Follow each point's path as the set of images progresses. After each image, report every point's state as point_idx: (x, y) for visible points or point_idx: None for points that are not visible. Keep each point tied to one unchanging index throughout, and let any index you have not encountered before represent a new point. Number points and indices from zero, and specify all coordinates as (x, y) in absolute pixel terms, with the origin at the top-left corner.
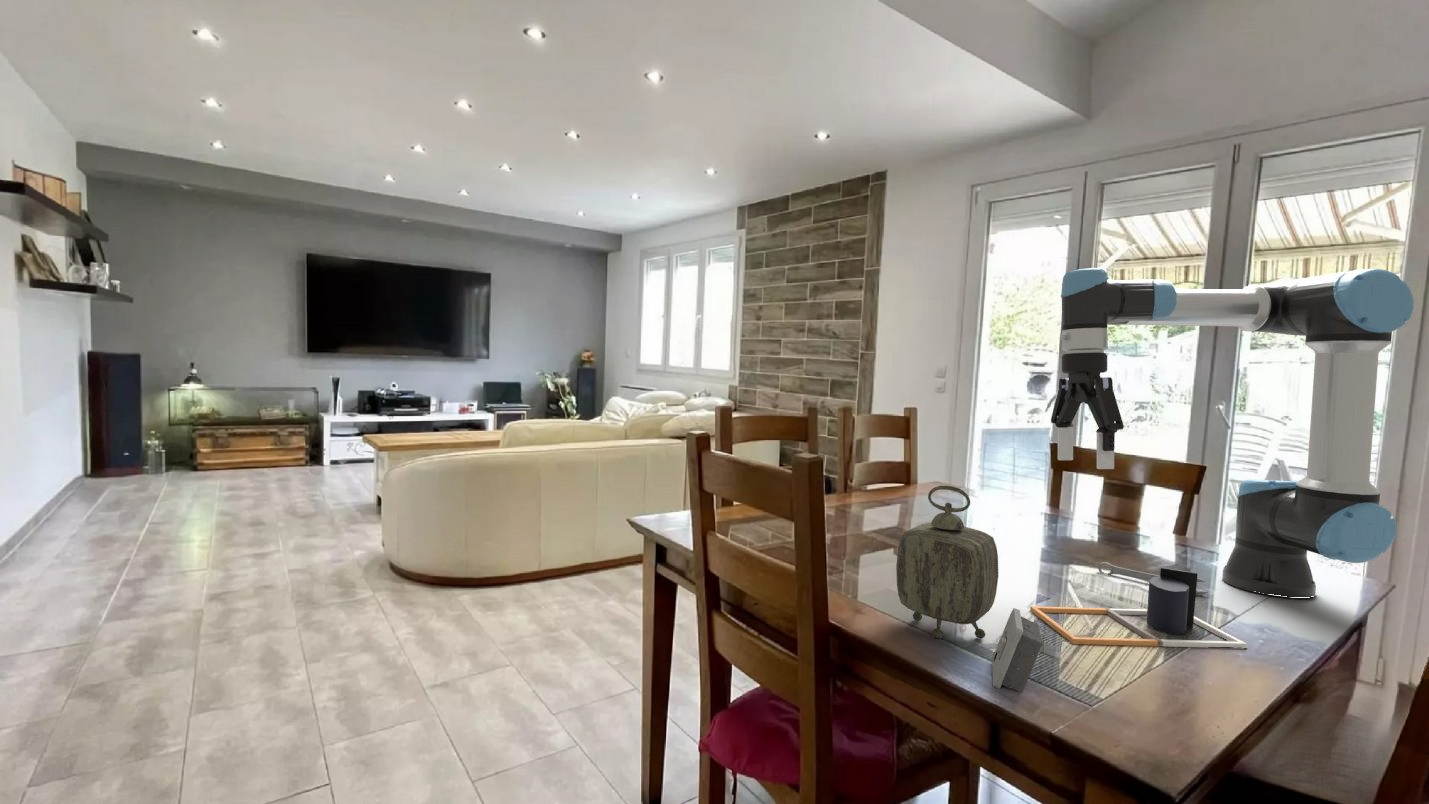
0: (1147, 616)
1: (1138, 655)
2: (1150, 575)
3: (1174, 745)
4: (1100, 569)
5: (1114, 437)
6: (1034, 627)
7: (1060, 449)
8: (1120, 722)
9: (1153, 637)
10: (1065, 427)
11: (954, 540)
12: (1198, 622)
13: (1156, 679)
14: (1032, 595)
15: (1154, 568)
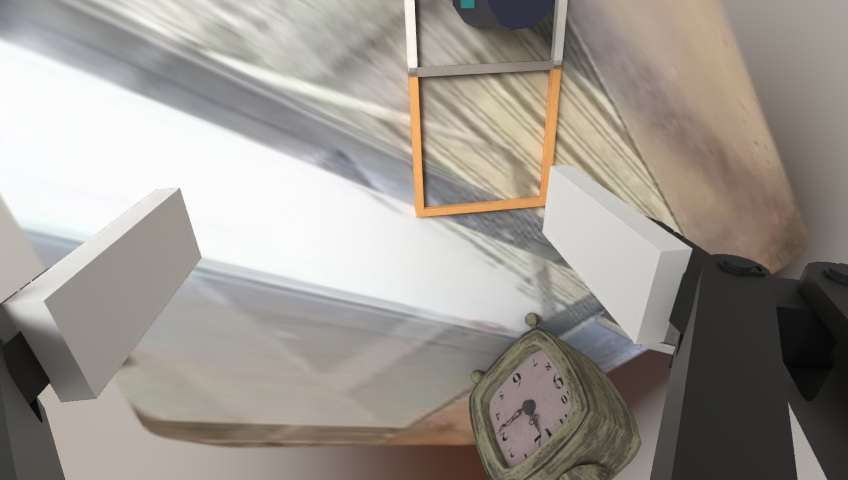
0: (473, 24)
1: (586, 124)
2: None
3: (768, 211)
4: None
5: (707, 253)
6: (672, 325)
7: (173, 285)
8: (724, 240)
9: (546, 66)
10: (33, 349)
11: (622, 468)
12: None
13: (654, 144)
14: (330, 179)
15: None
